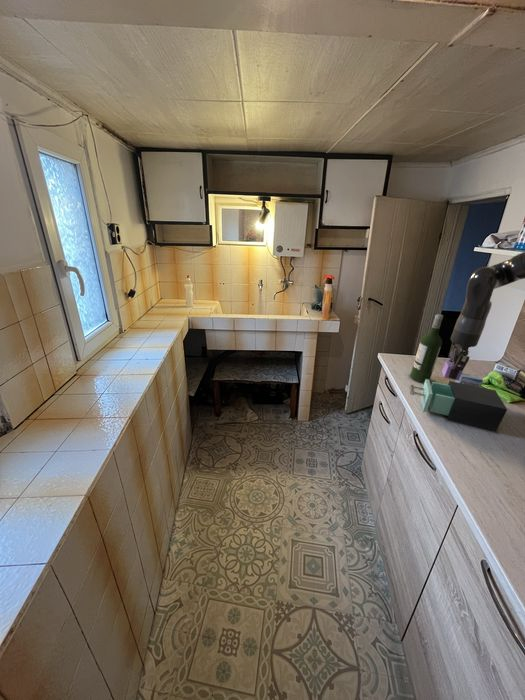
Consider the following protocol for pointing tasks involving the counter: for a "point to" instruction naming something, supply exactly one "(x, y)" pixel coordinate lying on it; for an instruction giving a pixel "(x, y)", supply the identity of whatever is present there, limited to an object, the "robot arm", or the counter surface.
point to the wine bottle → (427, 353)
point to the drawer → (435, 397)
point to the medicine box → (470, 380)
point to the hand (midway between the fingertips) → (450, 374)
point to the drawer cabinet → (476, 407)
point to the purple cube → (447, 370)
